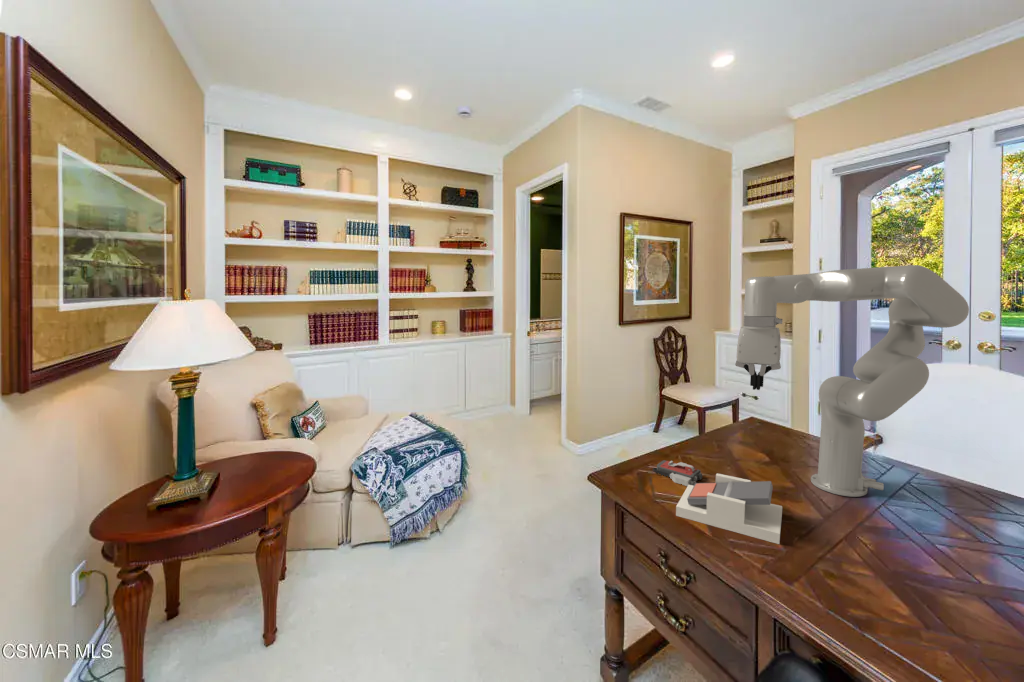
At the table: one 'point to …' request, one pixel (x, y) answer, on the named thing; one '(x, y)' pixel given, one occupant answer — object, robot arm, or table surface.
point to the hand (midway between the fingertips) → (756, 388)
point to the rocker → (733, 492)
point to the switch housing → (734, 513)
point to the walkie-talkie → (679, 472)
